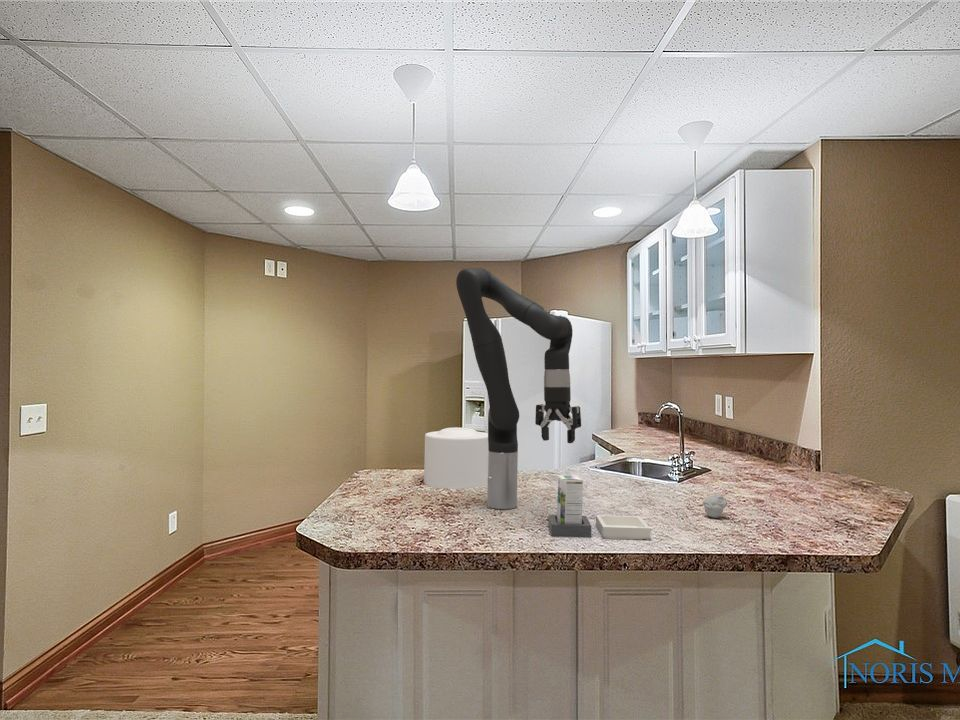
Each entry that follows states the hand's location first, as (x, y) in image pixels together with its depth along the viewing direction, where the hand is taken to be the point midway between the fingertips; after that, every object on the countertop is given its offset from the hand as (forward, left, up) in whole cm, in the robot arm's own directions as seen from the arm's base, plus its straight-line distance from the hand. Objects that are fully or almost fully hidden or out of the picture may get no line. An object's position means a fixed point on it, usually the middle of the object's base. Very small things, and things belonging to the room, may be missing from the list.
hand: (558, 441), depth 166 cm
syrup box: (+2, -11, -23) cm, 25 cm away
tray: (+16, -11, -22) cm, 30 cm away
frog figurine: (+47, +8, -23) cm, 53 cm away
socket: (+2, -11, -22) cm, 25 cm away
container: (-33, +51, -23) cm, 65 cm away
